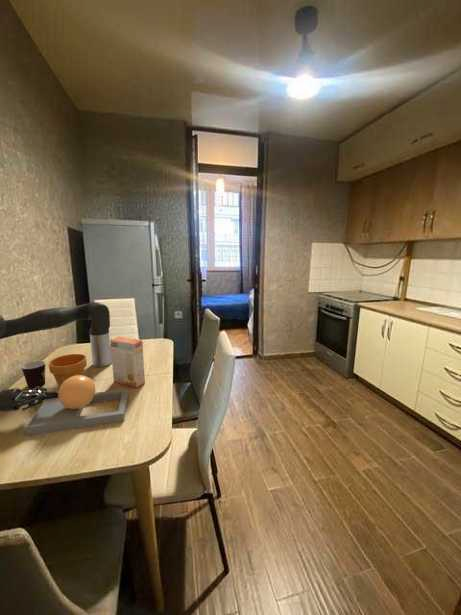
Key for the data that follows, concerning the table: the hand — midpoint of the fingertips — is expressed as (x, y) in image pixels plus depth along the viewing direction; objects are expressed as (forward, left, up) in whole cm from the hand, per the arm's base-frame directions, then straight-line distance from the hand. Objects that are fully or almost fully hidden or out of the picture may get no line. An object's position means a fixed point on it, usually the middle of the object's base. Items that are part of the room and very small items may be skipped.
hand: (58, 394), depth 98 cm
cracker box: (-30, -4, -9) cm, 32 cm away
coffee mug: (-3, -34, -9) cm, 36 cm away
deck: (-6, +4, -9) cm, 12 cm away
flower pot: (-11, -20, -9) cm, 25 cm away
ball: (-5, +4, 0) cm, 6 cm away
